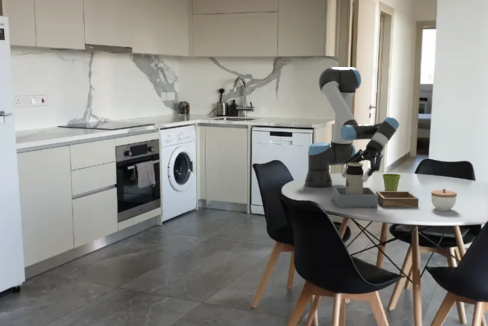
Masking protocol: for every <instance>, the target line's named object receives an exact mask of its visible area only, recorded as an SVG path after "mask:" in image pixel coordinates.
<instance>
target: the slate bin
mask: <svg viewBox="0 0 488 326" xmlns="http://www.w3.org/2000/svg"><path fill="white" fill-rule="evenodd" d="M332 200H333V202H334V204H335V206H336V207H337V209H378V206H379V205H378V204H379V202H378V195H377V194H376V191H374V190H373V189H372V188H371V187H369V186H363V195H346V186H343V187H341V186H338V187H337V186H336V187H335V186H334V187H332Z"/></svg>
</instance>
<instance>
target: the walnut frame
mask: <svg viewBox="0 0 488 326" xmlns="http://www.w3.org/2000/svg"><path fill="white" fill-rule="evenodd" d="M375 193H376V194H377V195H378V204H380V206H381V207H382V208H419V200H420V199H419V197H417V196H416V195H415V194H413V193H411V192H410V191H409V190H408V191H404V190H403V191H402V190H401V191H400V190H399V191H398V190H397V191H385V190H384V191H383V190H380V191H378V190H377V191H375Z"/></svg>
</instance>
